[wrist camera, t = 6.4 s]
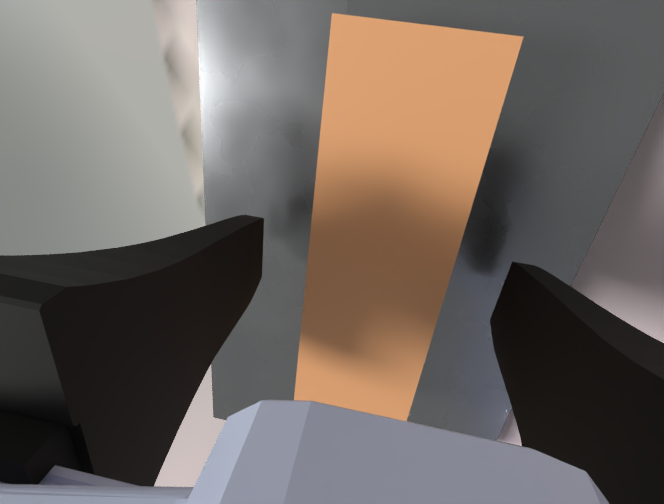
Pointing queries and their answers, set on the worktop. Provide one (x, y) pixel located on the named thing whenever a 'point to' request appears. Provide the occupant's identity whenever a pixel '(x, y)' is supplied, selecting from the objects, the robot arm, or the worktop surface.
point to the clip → (392, 200)
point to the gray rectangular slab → (492, 193)
